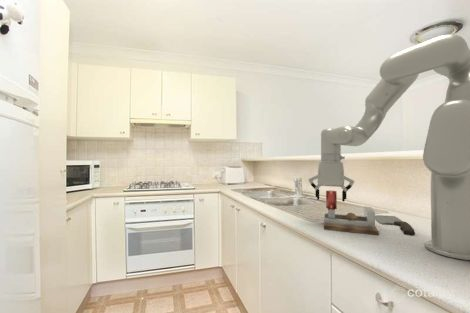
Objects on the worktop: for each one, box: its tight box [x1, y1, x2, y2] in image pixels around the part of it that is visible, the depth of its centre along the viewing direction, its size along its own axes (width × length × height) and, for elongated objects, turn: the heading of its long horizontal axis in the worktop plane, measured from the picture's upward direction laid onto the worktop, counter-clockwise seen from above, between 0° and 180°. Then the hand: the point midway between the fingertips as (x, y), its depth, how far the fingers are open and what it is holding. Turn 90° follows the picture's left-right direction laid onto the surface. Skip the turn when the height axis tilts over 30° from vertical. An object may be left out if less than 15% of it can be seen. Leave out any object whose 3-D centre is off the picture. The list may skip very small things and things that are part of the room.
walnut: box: [345, 212, 357, 221], centre depth 91 cm, size 4×4×4 cm
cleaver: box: [375, 214, 416, 236], centre depth 94 cm, size 30×10×2 cm, turn 161°
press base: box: [323, 223, 380, 236], centre depth 91 cm, size 18×16×2 cm
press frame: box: [323, 206, 376, 228], centre depth 92 cm, size 18×10×6 cm, turn 67°
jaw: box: [325, 190, 338, 219], centre depth 94 cm, size 4×7×12 cm, turn 157°
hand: (330, 200), depth 94 cm, fingers open, 9 cm apart
